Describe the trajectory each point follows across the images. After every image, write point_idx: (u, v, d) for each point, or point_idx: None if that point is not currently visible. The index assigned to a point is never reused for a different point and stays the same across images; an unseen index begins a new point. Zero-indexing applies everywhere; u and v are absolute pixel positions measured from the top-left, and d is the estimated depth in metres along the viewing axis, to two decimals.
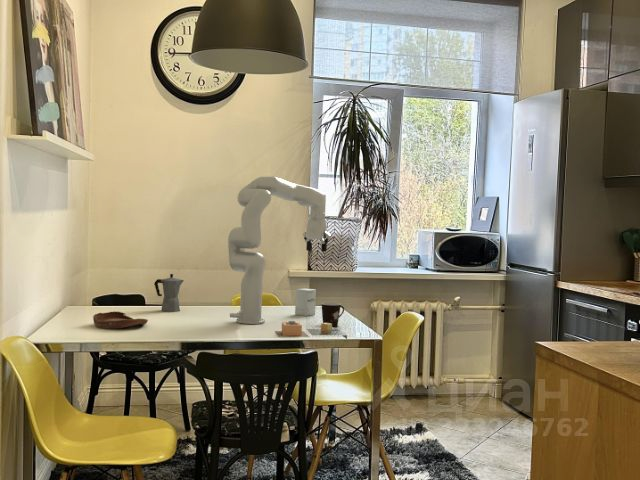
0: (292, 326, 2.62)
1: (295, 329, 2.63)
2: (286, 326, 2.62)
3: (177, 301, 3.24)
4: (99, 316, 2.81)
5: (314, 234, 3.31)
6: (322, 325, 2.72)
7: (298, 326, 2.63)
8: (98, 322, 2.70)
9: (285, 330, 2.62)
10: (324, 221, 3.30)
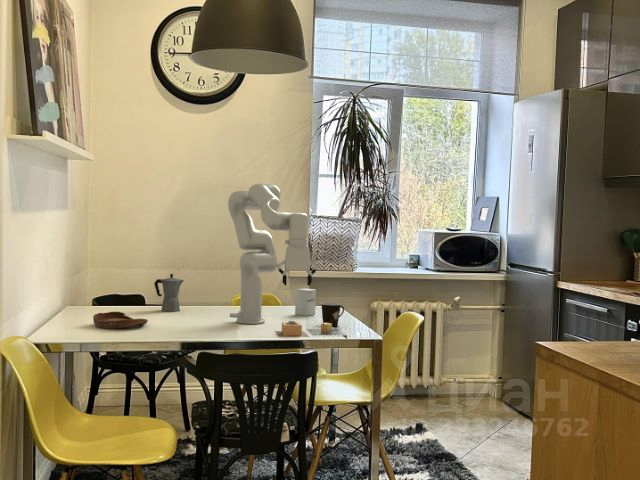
0: (292, 326, 2.62)
1: (295, 329, 2.63)
2: (286, 326, 2.62)
3: (177, 301, 3.24)
4: (99, 316, 2.81)
5: (299, 265, 2.69)
6: (322, 325, 2.72)
7: (298, 326, 2.63)
8: (98, 322, 2.70)
9: (285, 330, 2.62)
10: None
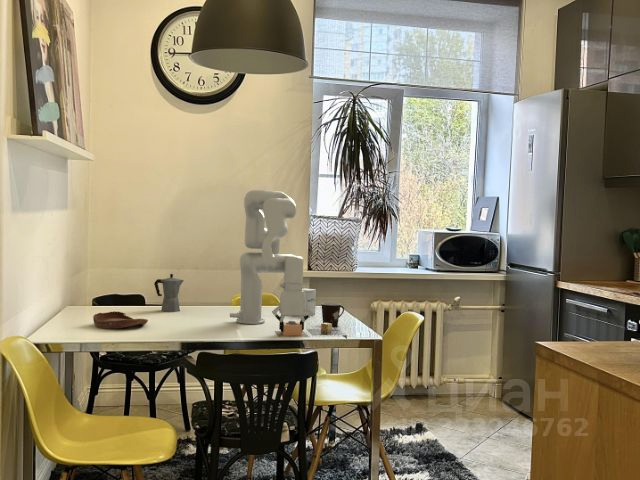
0: (292, 326, 2.62)
1: (295, 329, 2.63)
2: (286, 326, 2.62)
3: (177, 301, 3.24)
4: (99, 316, 2.81)
5: (295, 310, 2.63)
6: (322, 325, 2.72)
7: (298, 326, 2.63)
8: (98, 322, 2.70)
9: (285, 330, 2.62)
10: None
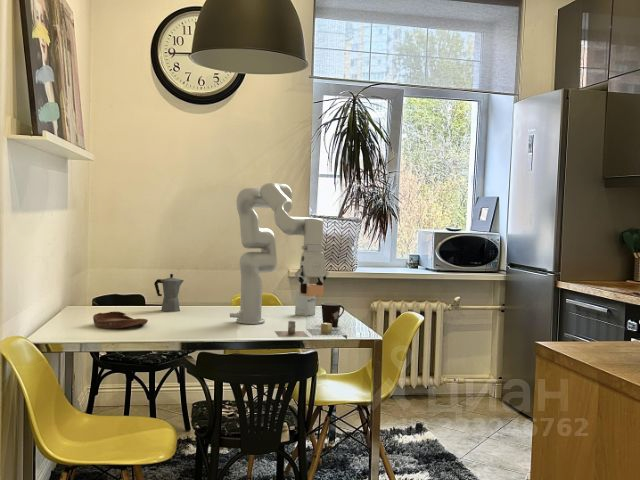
0: (316, 287, 2.66)
1: (318, 290, 2.67)
2: (311, 287, 2.64)
3: (177, 301, 3.24)
4: (99, 316, 2.81)
5: (317, 271, 2.67)
6: (322, 325, 2.72)
7: (321, 287, 2.67)
8: (98, 322, 2.70)
9: (310, 291, 2.64)
10: None
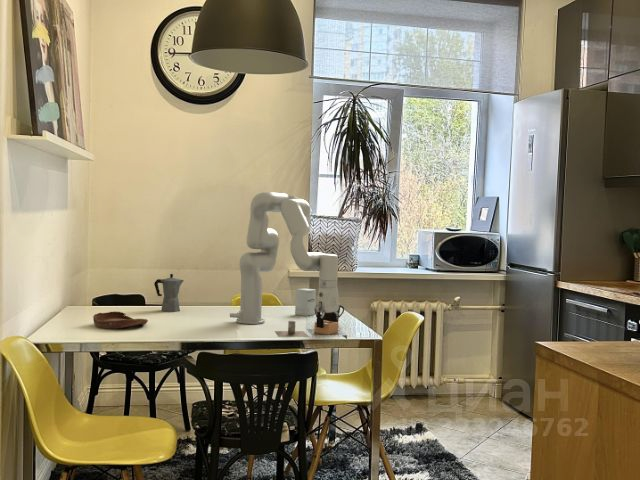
0: (333, 324, 2.70)
1: (334, 327, 2.72)
2: (330, 325, 2.69)
3: (177, 301, 3.24)
4: (99, 316, 2.81)
5: (333, 306, 2.71)
6: None
7: (336, 323, 2.72)
8: (98, 322, 2.70)
9: (329, 329, 2.68)
10: None
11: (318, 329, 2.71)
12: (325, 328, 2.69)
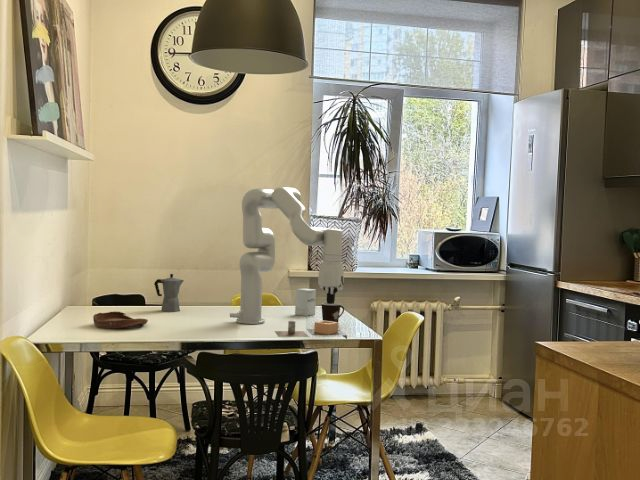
0: (333, 324, 2.70)
1: (334, 327, 2.72)
2: (330, 325, 2.69)
3: (177, 301, 3.24)
4: (99, 316, 2.81)
5: (329, 280, 2.71)
6: None
7: (336, 323, 2.72)
8: (98, 322, 2.70)
9: (329, 329, 2.68)
10: (341, 265, 2.71)
11: (318, 329, 2.71)
12: (325, 328, 2.69)
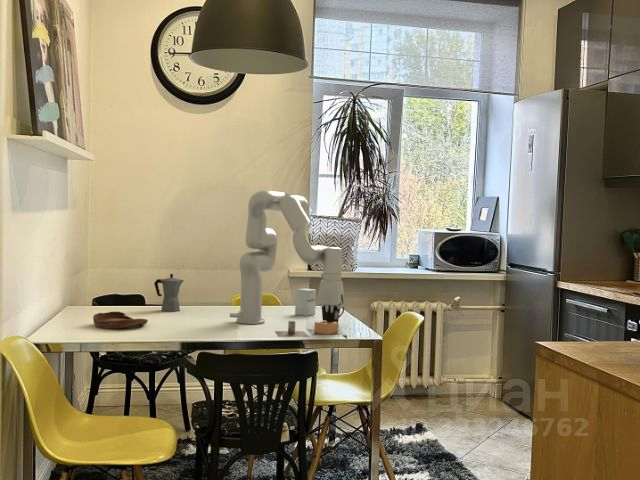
0: (333, 324, 2.70)
1: (334, 327, 2.72)
2: (330, 325, 2.69)
3: (177, 301, 3.24)
4: (99, 316, 2.81)
5: (329, 299, 2.72)
6: None
7: (336, 323, 2.72)
8: (98, 322, 2.70)
9: (329, 329, 2.68)
10: (341, 283, 2.72)
11: (318, 329, 2.71)
12: (325, 328, 2.69)
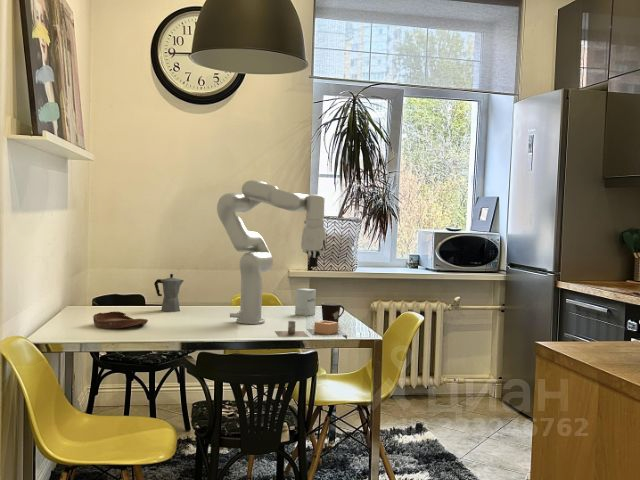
0: (333, 324, 2.70)
1: (334, 327, 2.72)
2: (330, 325, 2.69)
3: (177, 301, 3.24)
4: (99, 316, 2.81)
5: (311, 244, 2.81)
6: None
7: (336, 323, 2.72)
8: (98, 322, 2.70)
9: (329, 329, 2.68)
10: (323, 229, 2.81)
11: (318, 329, 2.71)
12: (325, 328, 2.69)
